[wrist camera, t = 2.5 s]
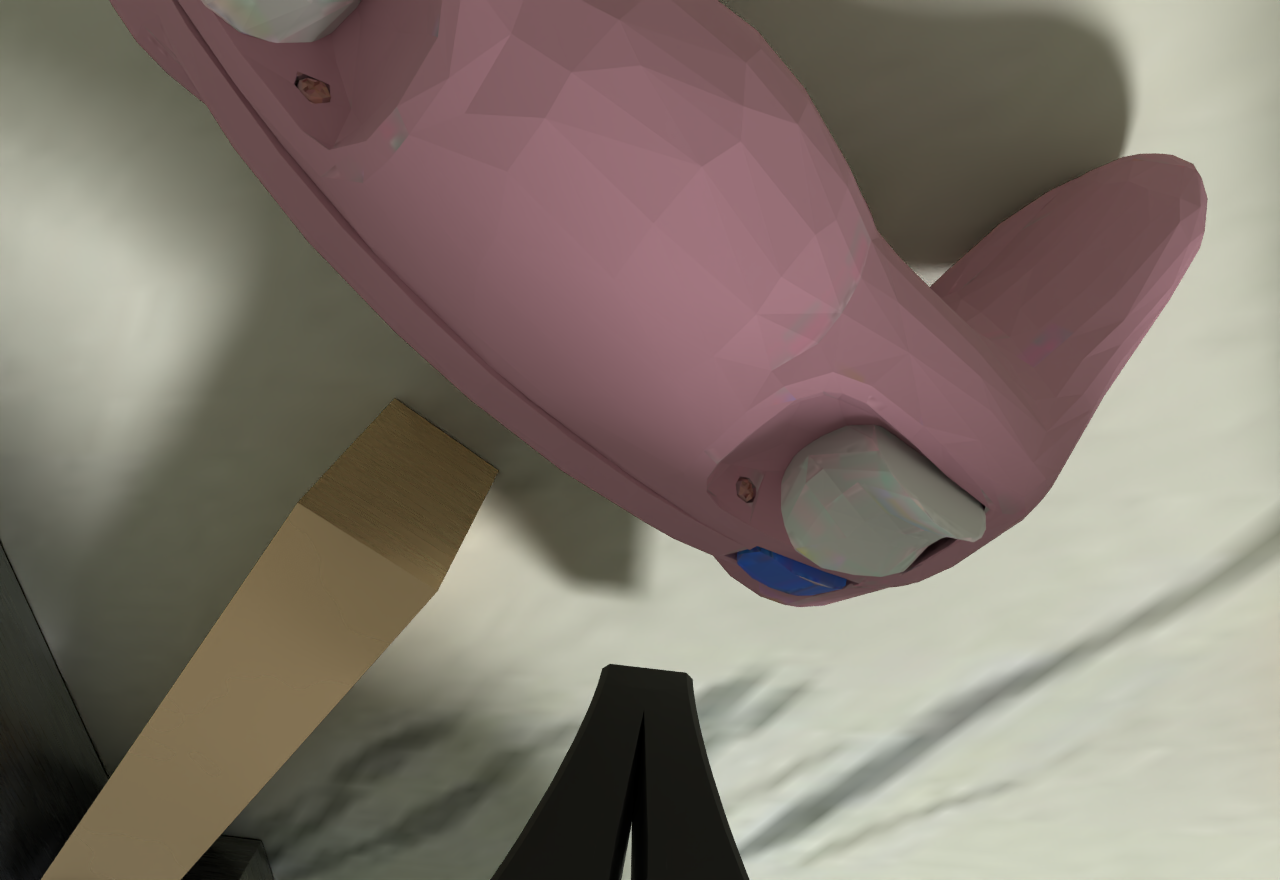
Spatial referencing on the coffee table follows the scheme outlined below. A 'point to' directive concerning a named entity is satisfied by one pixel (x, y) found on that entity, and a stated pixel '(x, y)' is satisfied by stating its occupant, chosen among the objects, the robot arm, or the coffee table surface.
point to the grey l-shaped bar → (61, 760)
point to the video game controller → (687, 269)
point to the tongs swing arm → (286, 647)
